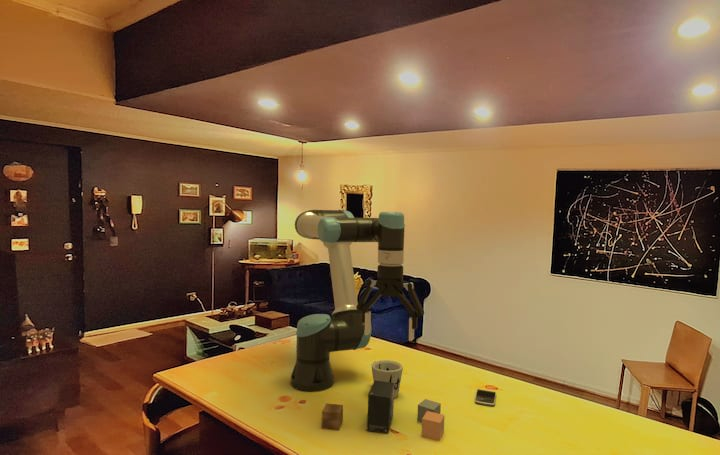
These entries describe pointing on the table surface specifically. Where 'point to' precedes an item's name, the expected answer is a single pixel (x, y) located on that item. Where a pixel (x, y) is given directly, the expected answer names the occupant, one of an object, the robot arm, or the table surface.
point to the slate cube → (427, 408)
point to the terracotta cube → (433, 425)
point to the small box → (380, 406)
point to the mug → (388, 373)
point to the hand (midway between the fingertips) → (388, 336)
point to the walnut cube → (332, 416)
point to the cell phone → (485, 397)
